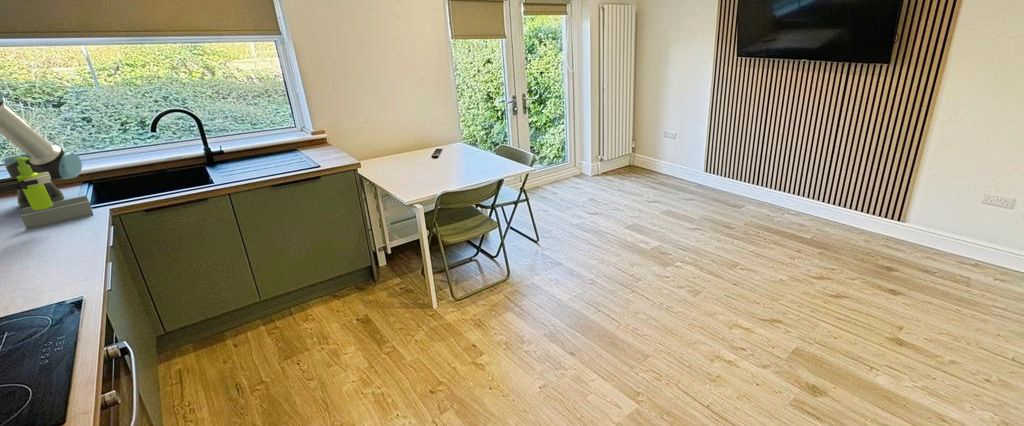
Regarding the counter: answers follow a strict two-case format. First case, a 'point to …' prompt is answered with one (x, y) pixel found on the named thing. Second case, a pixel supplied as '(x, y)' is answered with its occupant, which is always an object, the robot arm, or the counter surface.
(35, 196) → the soap dispenser
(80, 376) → the counter surface
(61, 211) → the gray rectangular tray
